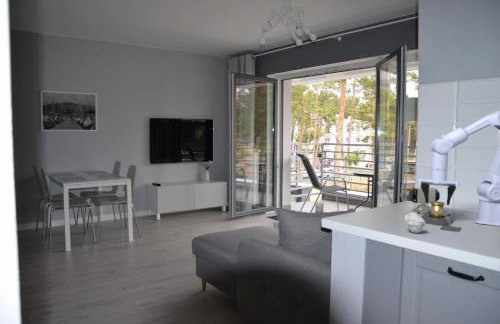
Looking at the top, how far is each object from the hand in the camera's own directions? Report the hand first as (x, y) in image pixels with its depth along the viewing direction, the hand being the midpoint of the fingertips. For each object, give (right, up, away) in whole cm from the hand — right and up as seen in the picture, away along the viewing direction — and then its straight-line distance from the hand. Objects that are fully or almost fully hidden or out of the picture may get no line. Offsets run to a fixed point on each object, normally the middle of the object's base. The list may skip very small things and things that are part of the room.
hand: (437, 203), depth 155 cm
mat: (-1, -8, -12) cm, 14 cm away
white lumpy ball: (-16, -9, -17) cm, 25 cm away
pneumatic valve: (+2, -6, +17) cm, 18 cm away
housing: (0, -7, +1) cm, 7 cm away
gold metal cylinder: (0, -7, +1) cm, 7 cm away
